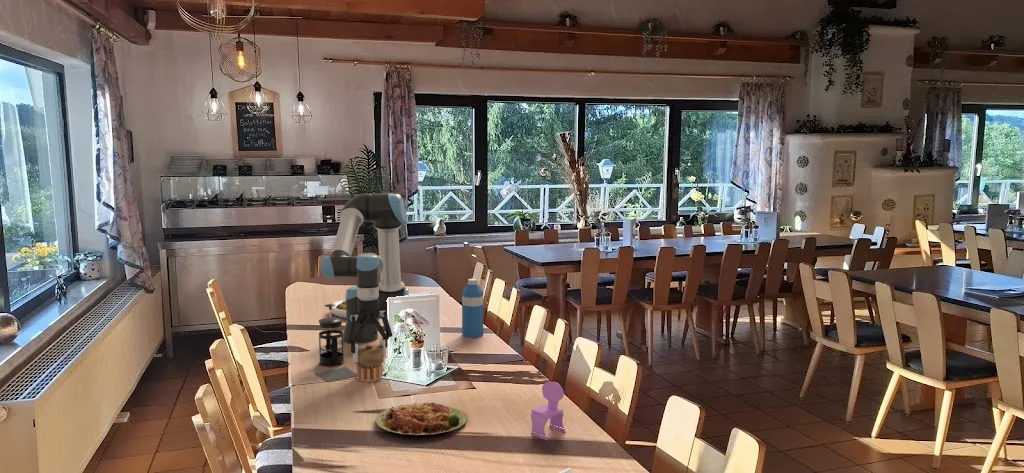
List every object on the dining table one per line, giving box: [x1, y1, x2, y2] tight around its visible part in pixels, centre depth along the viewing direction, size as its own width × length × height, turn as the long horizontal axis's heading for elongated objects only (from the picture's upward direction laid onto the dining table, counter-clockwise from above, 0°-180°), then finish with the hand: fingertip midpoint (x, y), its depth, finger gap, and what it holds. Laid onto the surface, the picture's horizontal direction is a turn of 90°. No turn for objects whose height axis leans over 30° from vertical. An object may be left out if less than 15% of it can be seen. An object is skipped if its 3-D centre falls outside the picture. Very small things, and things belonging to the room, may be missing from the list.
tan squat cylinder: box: [354, 343, 385, 367], centre depth 260 cm, size 10×10×6 cm
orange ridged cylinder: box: [356, 363, 384, 383], centre depth 261 cm, size 9×9×5 cm
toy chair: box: [530, 381, 566, 441], centre depth 211 cm, size 8×9×15 cm
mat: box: [314, 366, 357, 383], centre depth 265 cm, size 12×12×1 cm
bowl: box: [331, 299, 381, 319], centre depth 361 cm, size 30×30×8 cm
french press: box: [318, 303, 345, 368], centre depth 277 cm, size 12×9×23 cm
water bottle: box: [461, 278, 484, 339], centre depth 319 cm, size 9×9×25 cm
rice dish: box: [375, 402, 468, 436], centre depth 220 cm, size 28×28×5 cm
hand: (369, 359), depth 260 cm, fingers closed on tan squat cylinder, 10 cm apart
